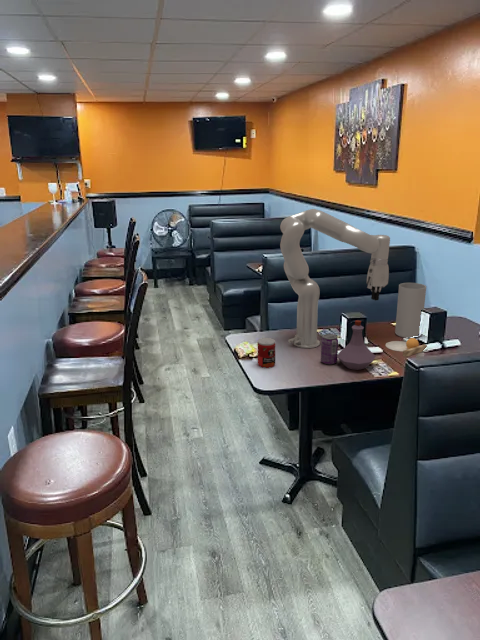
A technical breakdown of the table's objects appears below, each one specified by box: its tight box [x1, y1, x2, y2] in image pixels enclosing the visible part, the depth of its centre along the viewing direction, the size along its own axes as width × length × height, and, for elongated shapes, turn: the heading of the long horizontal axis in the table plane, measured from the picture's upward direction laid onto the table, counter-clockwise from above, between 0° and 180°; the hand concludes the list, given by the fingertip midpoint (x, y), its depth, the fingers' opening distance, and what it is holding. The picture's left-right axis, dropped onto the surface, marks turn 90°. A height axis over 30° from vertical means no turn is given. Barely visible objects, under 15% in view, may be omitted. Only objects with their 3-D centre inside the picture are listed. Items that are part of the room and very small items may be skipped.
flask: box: [337, 319, 376, 371], centre depth 210 cm, size 16×16×20 cm
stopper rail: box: [402, 343, 428, 358], centre depth 225 cm, size 14×2×2 cm, turn 121°
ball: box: [405, 338, 420, 349], centre depth 229 cm, size 6×6×6 cm
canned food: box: [257, 337, 276, 369], centre depth 214 cm, size 8×8×11 cm
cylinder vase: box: [394, 282, 427, 339], centre depth 245 cm, size 12×12×25 cm
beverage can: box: [320, 333, 339, 365], centre depth 215 cm, size 7×7×12 cm
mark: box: [385, 340, 408, 353], centre depth 234 cm, size 13×13×1 cm
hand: (374, 299), depth 238 cm, fingers closed
